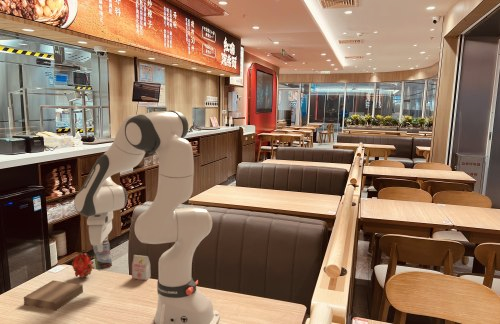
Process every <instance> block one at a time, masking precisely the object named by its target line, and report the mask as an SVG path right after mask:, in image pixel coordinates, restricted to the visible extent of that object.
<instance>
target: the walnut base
mask: <svg viewBox="0 0 500 324" xmlns="http://www.w3.org/2000/svg"><path fill="white" fill-rule="evenodd" d="M83 293H84V288H83V284H78V283H71V282H65V281H59V280H51V281H49V282H48V283H46V284H44V285H42V286H40V287H39V288H37V289H35V290H34V291H32V292H30V293H28V294H27V295H25V296H24V297H23V305H24V306H29V307H35V308H38V309H39V308H40V309H45V310H50V311H57V310H59V309H60V308H62V307H64V306H65V305H66V304H68V303H70V302H72V300H74V299H75V298H77V297H78V296H80V295H81V294H83Z"/></svg>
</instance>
